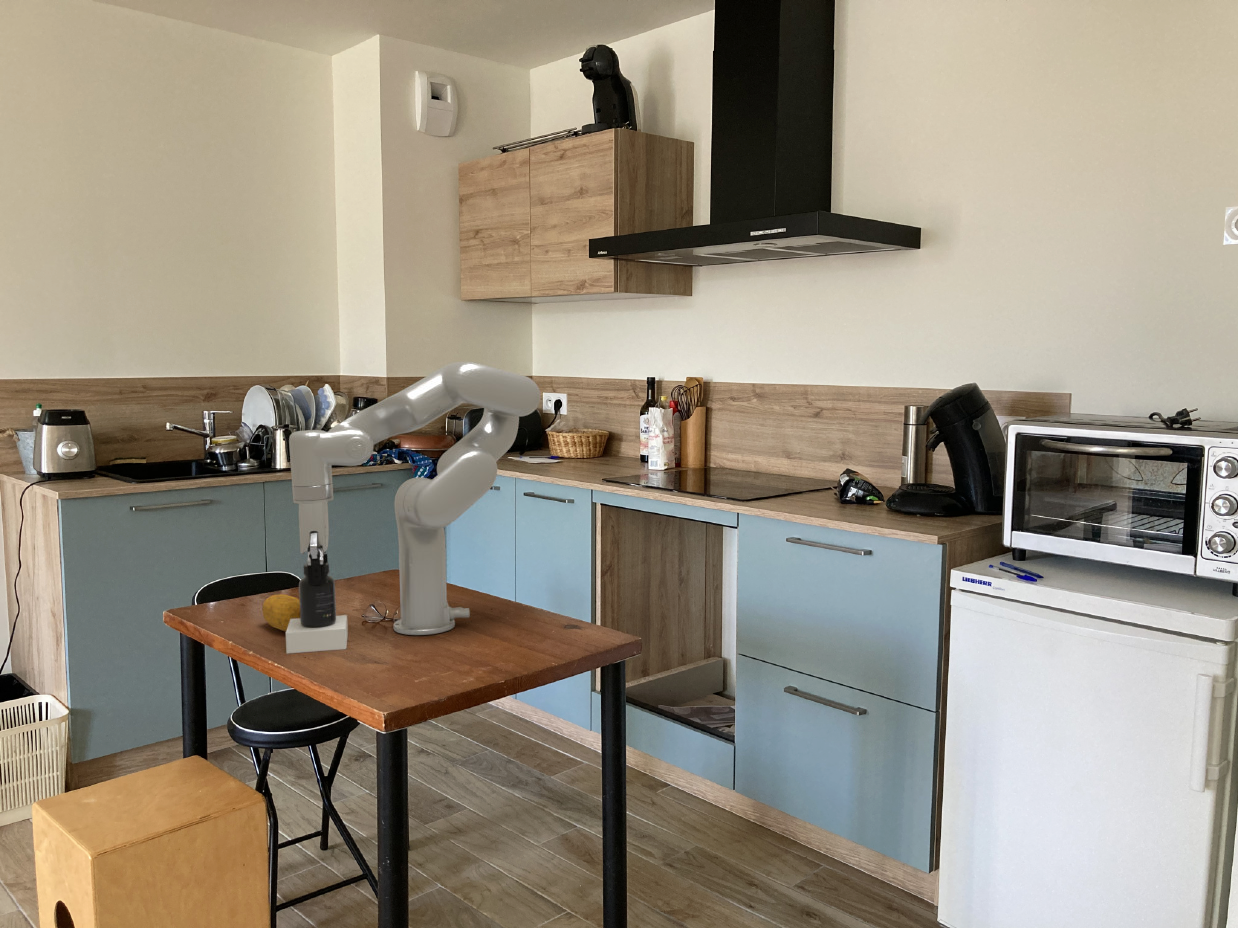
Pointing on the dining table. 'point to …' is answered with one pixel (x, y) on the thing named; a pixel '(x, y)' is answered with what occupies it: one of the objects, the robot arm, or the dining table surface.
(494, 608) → the dining table surface
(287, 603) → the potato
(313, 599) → the supplement bottle
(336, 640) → the stand
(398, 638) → the dining table surface
